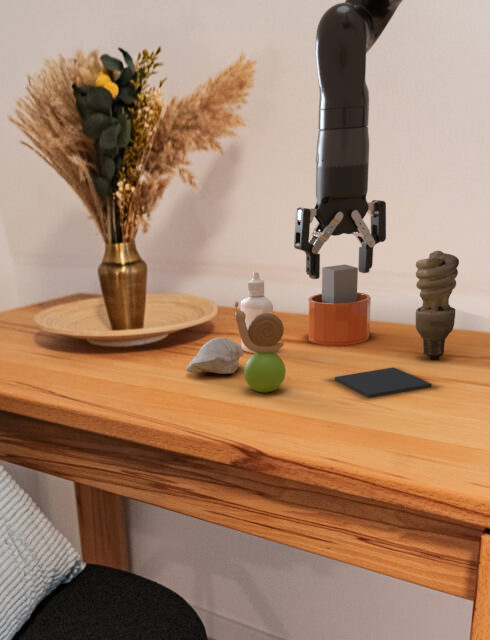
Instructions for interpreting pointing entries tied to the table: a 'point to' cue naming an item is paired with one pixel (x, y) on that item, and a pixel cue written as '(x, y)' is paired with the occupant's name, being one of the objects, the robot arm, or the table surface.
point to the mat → (382, 382)
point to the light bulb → (436, 301)
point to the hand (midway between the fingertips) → (339, 275)
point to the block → (339, 284)
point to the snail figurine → (262, 350)
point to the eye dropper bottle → (255, 303)
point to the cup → (339, 321)
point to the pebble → (217, 357)
